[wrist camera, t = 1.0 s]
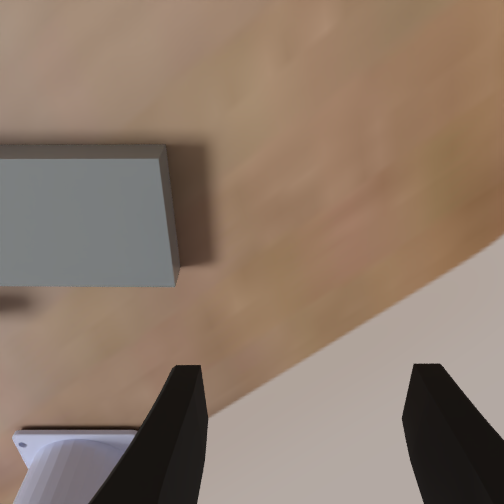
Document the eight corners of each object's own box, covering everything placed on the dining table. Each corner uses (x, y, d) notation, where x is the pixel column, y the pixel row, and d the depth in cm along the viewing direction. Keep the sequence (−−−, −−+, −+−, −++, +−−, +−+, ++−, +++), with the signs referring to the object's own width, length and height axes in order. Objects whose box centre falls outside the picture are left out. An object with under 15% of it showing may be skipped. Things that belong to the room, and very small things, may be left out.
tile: (181, 261, 22) (175, 286, 20) (-24, 260, 22) (-47, 285, 21) (167, 140, 19) (158, 158, 17) (-73, 140, 19) (-105, 159, 17)
